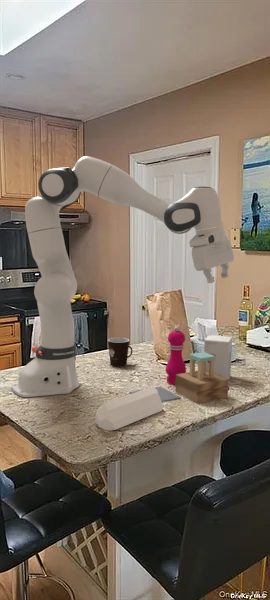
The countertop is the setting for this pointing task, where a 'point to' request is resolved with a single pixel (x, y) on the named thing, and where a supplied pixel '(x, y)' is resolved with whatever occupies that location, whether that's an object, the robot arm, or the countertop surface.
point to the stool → (202, 364)
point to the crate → (201, 387)
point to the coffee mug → (118, 351)
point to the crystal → (128, 409)
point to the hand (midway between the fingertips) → (218, 280)
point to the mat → (164, 394)
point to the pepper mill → (175, 355)
